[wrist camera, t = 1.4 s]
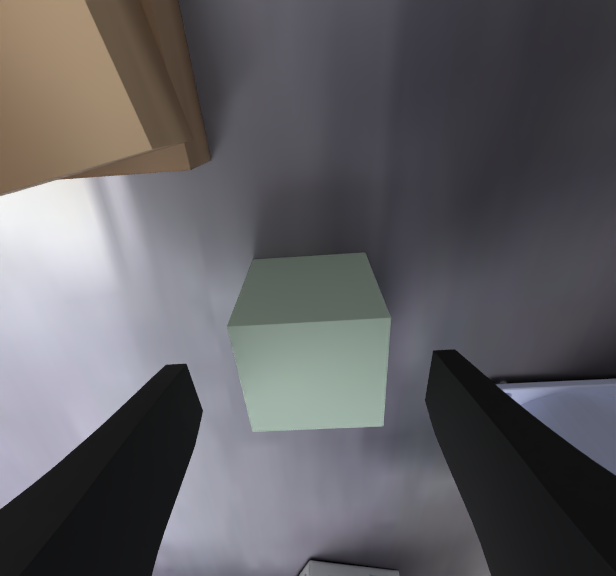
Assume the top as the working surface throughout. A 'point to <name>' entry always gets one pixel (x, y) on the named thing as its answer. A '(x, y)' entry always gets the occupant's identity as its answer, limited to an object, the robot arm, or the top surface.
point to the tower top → (80, 89)
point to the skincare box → (343, 570)
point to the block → (311, 343)
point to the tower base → (174, 51)
